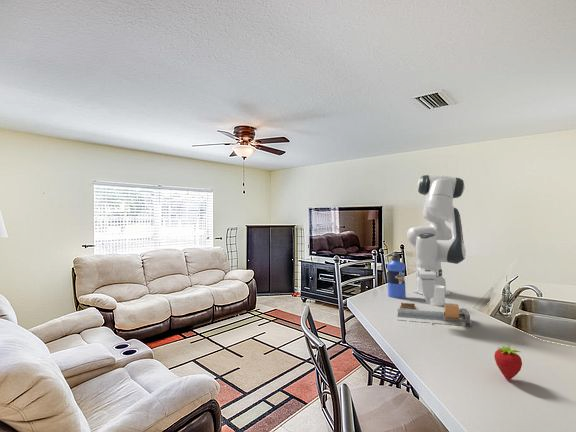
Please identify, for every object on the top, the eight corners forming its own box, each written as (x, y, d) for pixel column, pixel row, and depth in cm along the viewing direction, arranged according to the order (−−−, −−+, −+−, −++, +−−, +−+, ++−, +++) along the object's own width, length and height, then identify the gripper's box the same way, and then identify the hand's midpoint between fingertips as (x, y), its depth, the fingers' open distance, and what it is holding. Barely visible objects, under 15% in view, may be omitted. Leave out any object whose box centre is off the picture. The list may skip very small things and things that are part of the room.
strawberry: (515, 374, 86) (513, 337, 86) (528, 388, 79) (526, 348, 79) (491, 372, 88) (489, 336, 88) (501, 385, 80) (499, 346, 81)
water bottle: (384, 298, 173) (382, 252, 173) (397, 296, 176) (395, 251, 177) (396, 301, 164) (395, 254, 165) (409, 299, 168) (408, 253, 168)
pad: (400, 308, 152) (400, 301, 152) (416, 309, 150) (415, 302, 150) (399, 312, 146) (399, 304, 146) (416, 313, 143) (415, 305, 143)
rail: (398, 313, 144) (398, 303, 144) (468, 319, 133) (467, 308, 133) (397, 320, 134) (397, 309, 134) (472, 326, 124) (471, 315, 124)
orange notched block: (445, 319, 129) (445, 306, 129) (444, 316, 134) (444, 303, 134) (459, 320, 128) (458, 307, 128) (457, 317, 132) (457, 303, 132)
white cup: (444, 310, 147) (443, 288, 148) (426, 307, 152) (425, 287, 152) (447, 306, 154) (446, 285, 154) (430, 303, 159) (429, 284, 159)
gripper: (419, 266, 146) (419, 296, 146) (419, 275, 127) (420, 309, 127) (434, 267, 143) (434, 297, 143) (436, 275, 124) (437, 310, 124)
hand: (428, 303), depth 135 cm, fingers closed
